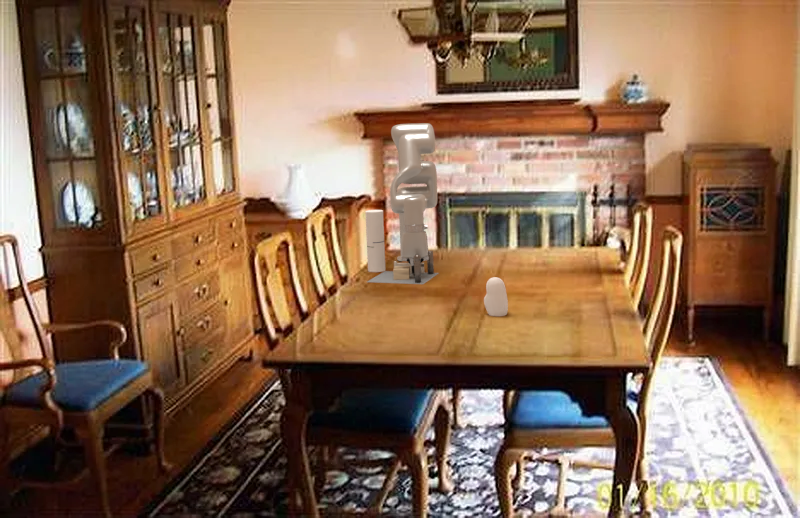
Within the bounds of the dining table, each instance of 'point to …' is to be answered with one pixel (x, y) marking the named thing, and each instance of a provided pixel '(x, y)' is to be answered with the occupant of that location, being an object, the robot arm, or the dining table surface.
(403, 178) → the robot arm
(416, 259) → the gate posts
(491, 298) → the figurine
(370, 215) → the cylindrical container
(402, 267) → the block
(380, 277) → the slate mat
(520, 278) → the dining table surface
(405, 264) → the gate
